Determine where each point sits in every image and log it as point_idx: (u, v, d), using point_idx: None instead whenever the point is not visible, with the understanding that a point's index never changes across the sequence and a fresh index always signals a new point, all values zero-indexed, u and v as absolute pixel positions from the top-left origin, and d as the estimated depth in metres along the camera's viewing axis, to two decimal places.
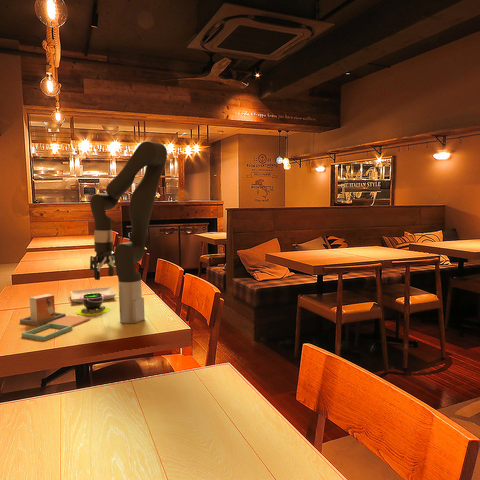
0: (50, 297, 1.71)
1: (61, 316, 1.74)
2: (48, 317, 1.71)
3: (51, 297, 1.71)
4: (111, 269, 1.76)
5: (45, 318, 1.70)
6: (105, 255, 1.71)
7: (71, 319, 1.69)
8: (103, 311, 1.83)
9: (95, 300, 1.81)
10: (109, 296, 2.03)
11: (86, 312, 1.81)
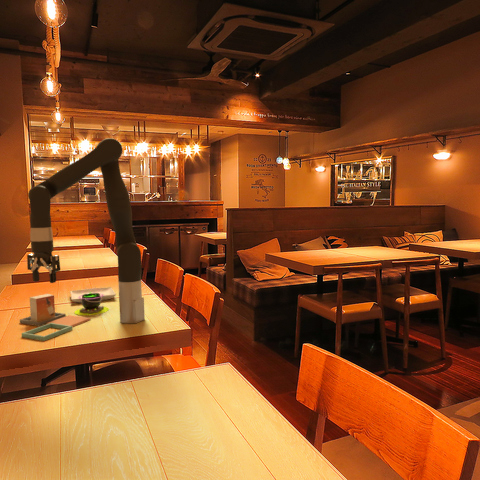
0: (50, 297, 1.71)
1: (61, 316, 1.74)
2: (48, 317, 1.71)
3: (51, 297, 1.71)
4: (37, 273, 1.54)
5: (45, 318, 1.70)
6: None
7: (71, 319, 1.69)
8: (101, 311, 1.83)
9: (93, 300, 1.81)
10: (109, 296, 2.03)
11: (84, 312, 1.81)
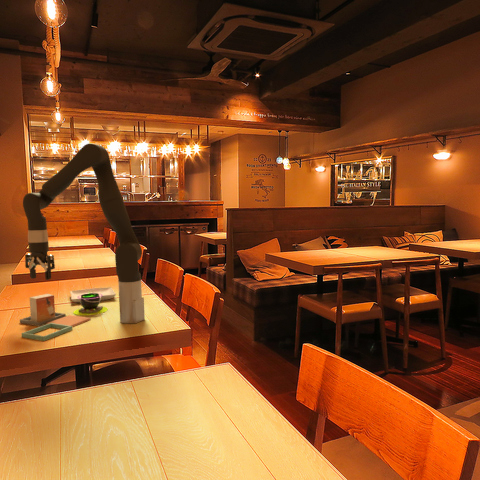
0: (50, 297, 1.71)
1: (61, 316, 1.74)
2: (48, 317, 1.71)
3: (51, 297, 1.71)
4: (34, 271, 1.71)
5: (45, 318, 1.70)
6: None
7: (71, 319, 1.69)
8: (100, 311, 1.83)
9: (92, 300, 1.81)
10: (109, 296, 2.03)
11: (83, 312, 1.81)
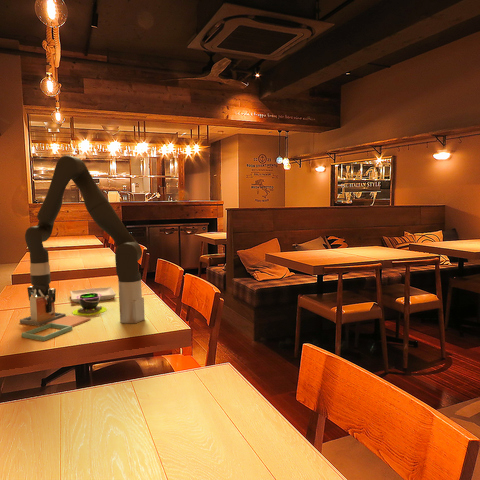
0: None
1: (61, 316, 1.74)
2: (48, 317, 1.71)
3: None
4: None
5: (45, 318, 1.70)
6: None
7: (71, 319, 1.69)
8: (99, 311, 1.83)
9: (91, 300, 1.81)
10: (109, 296, 2.03)
11: (82, 312, 1.81)
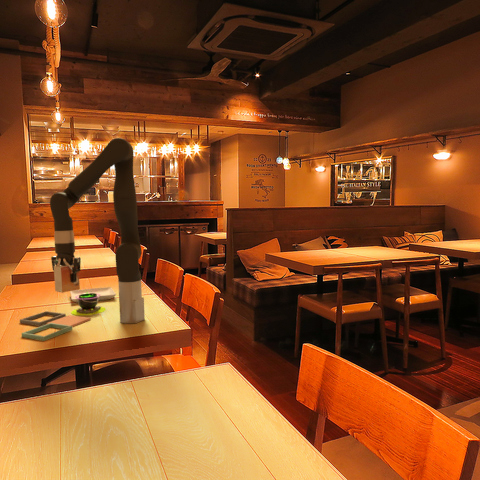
0: None
1: (61, 316, 1.74)
2: (73, 287, 1.66)
3: None
4: None
5: (70, 288, 1.65)
6: None
7: (71, 319, 1.69)
8: (98, 311, 1.83)
9: (90, 300, 1.81)
10: (109, 296, 2.03)
11: (81, 312, 1.81)
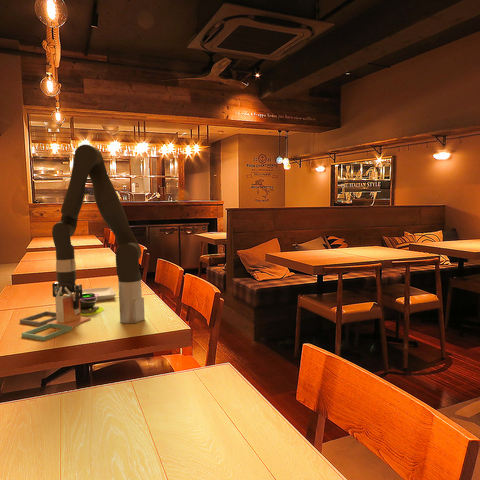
0: None
1: None
2: (74, 317, 1.67)
3: None
4: None
5: (71, 318, 1.66)
6: None
7: None
8: (96, 311, 1.83)
9: (88, 300, 1.81)
10: (109, 296, 2.03)
11: None
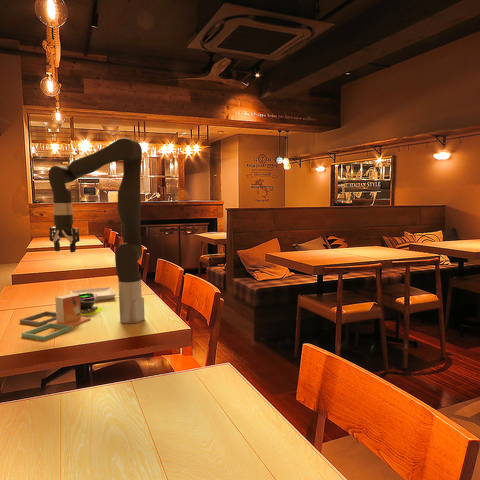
0: (76, 297, 1.67)
1: None
2: (74, 317, 1.67)
3: (77, 297, 1.68)
4: (58, 244, 1.74)
5: (71, 318, 1.66)
6: None
7: None
8: (95, 311, 1.83)
9: (87, 300, 1.81)
10: (109, 296, 2.03)
11: None
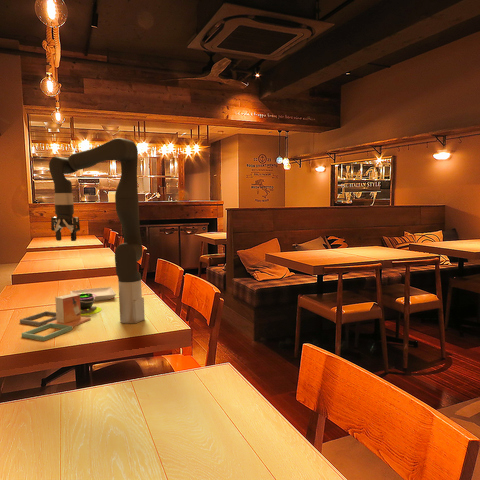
0: (76, 297, 1.67)
1: None
2: (74, 317, 1.67)
3: (77, 297, 1.68)
4: (60, 233, 1.78)
5: (71, 318, 1.66)
6: None
7: None
8: (94, 311, 1.83)
9: (86, 300, 1.81)
10: (109, 296, 2.03)
11: None
